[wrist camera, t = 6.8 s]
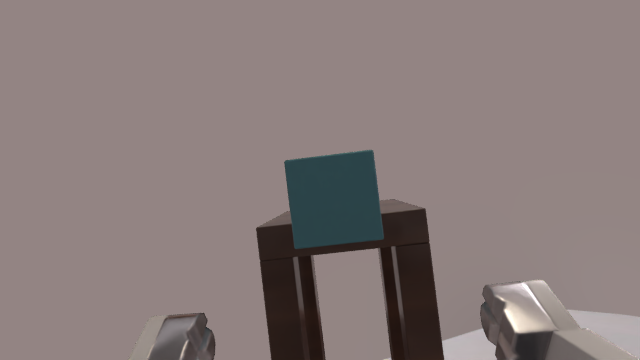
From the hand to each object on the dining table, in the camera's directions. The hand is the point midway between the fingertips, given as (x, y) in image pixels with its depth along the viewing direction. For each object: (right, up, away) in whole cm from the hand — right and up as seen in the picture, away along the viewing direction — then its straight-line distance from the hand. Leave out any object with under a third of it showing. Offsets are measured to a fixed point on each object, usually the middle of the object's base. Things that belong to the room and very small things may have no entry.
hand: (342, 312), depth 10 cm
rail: (+1, +2, +12) cm, 12 cm away
